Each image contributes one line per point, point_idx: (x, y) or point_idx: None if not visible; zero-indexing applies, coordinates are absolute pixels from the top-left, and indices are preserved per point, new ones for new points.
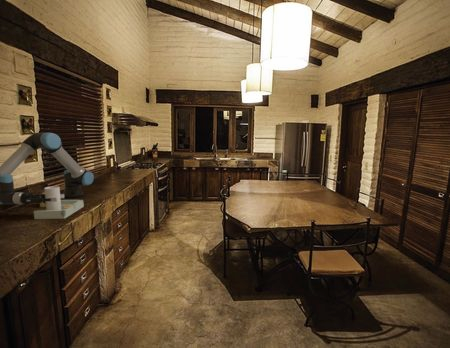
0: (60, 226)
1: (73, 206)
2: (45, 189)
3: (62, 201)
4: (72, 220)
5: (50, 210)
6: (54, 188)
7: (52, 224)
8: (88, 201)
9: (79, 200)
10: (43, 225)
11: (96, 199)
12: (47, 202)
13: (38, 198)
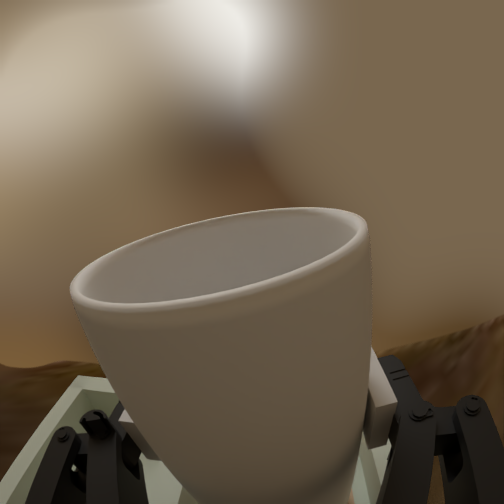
0: (464, 337)
1: None
2: (367, 261)
3: (28, 477)
4: (382, 351)
5: (384, 446)
6: (301, 210)
7: (465, 380)
8: (19, 404)
9: (83, 387)
10: (495, 402)
11: (13, 383)
12: (357, 455)
13: (477, 463)
